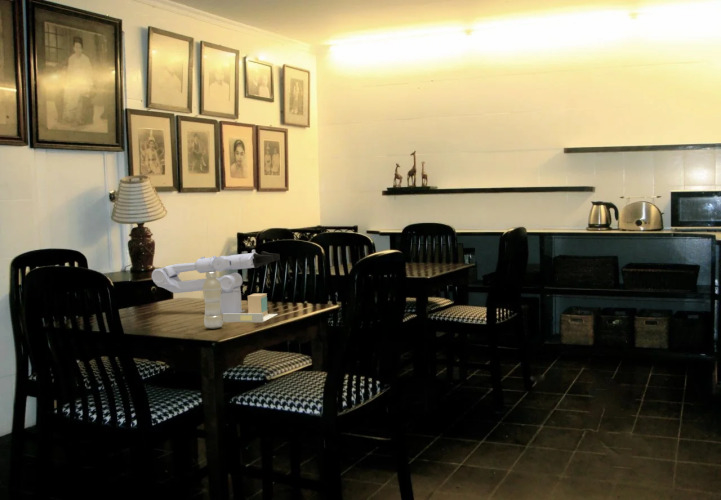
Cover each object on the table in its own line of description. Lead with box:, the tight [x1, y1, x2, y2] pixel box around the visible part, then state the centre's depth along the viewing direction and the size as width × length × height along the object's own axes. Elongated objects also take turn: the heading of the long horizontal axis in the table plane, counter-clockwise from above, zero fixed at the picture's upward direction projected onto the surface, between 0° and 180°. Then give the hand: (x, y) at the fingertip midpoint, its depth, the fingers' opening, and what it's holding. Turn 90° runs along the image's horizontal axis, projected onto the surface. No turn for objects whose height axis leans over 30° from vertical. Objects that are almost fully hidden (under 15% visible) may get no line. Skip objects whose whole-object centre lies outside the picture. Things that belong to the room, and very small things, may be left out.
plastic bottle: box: [202, 271, 224, 330], centre depth 255 cm, size 6×7×20 cm
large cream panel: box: [222, 312, 278, 323], centre depth 272 cm, size 15×18×4 cm
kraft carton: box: [247, 293, 269, 316], centre depth 276 cm, size 5×7×8 cm
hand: (276, 257), depth 283 cm, fingers open, 7 cm apart
